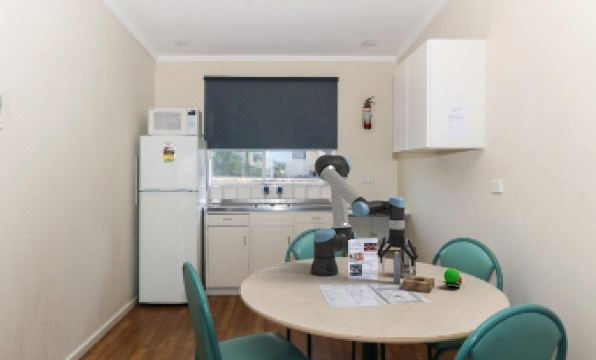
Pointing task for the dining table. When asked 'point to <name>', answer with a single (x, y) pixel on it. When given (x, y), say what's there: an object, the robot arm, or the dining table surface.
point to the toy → (452, 278)
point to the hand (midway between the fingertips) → (396, 271)
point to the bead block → (418, 284)
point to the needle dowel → (396, 267)
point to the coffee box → (406, 263)
